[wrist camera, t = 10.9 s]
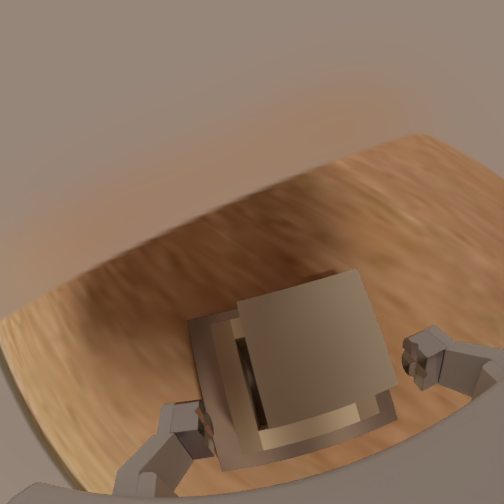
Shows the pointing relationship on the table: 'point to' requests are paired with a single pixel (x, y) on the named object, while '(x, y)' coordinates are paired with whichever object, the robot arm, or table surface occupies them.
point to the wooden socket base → (250, 405)
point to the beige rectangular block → (315, 348)
